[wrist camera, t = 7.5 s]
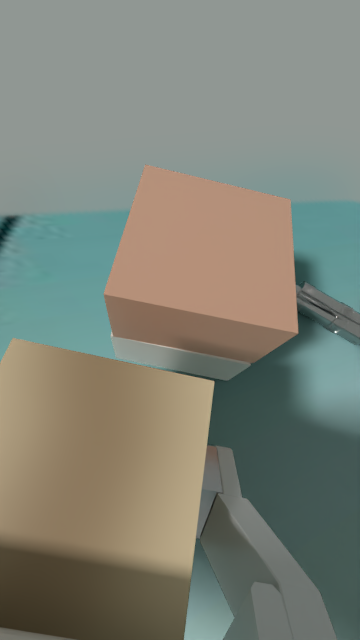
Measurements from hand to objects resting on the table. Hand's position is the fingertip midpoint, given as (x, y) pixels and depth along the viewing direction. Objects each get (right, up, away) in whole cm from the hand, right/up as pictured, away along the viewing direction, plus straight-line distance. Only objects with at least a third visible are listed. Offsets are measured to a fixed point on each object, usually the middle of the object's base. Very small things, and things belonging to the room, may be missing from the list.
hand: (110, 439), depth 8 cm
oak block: (-1, -2, +4) cm, 4 cm away
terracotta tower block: (+3, +5, +6) cm, 9 cm away
